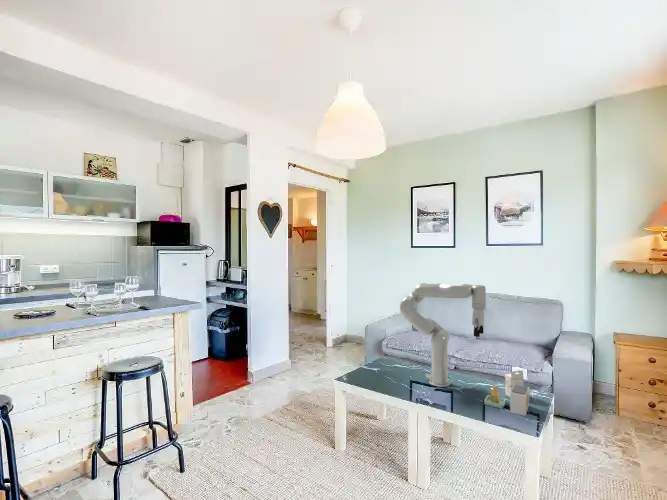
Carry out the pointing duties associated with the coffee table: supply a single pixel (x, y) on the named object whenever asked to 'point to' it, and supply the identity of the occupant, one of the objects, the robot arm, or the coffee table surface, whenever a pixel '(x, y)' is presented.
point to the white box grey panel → (519, 399)
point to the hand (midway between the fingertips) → (478, 334)
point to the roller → (495, 394)
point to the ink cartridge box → (513, 381)
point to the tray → (489, 403)
